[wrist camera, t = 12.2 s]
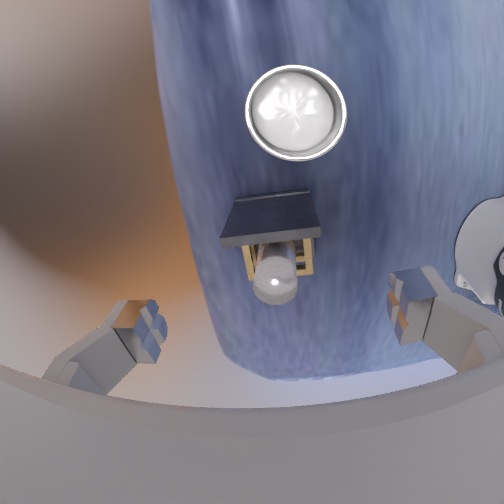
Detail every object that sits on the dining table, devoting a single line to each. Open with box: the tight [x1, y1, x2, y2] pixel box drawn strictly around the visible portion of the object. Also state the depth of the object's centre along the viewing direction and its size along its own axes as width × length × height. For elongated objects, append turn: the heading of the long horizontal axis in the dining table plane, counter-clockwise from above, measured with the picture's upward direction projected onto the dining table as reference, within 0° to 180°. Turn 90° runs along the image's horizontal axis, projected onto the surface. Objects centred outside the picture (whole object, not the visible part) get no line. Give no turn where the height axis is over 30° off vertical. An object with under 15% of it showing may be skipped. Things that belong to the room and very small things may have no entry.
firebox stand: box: [220, 189, 321, 281], centre depth 31 cm, size 9×9×11 cm
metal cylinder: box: [253, 240, 298, 305], centre depth 30 cm, size 4×4×12 cm
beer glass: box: [245, 64, 347, 161], centre depth 22 cm, size 7×7×15 cm
